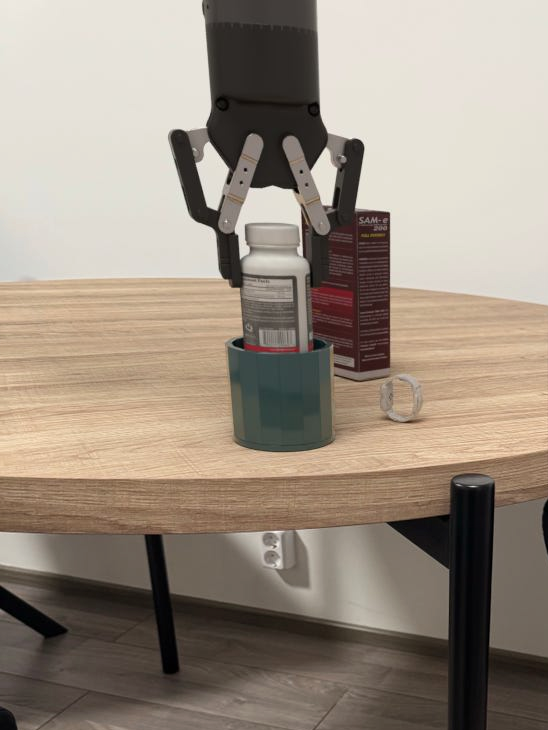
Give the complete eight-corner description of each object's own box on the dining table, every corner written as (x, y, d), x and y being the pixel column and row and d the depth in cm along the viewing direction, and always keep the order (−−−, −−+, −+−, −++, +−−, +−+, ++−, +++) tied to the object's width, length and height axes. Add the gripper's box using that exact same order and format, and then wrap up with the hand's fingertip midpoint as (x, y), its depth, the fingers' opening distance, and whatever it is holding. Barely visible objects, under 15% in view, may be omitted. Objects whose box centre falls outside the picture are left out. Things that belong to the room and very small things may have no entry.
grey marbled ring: (426, 420, 84) (426, 374, 82) (417, 425, 82) (417, 379, 80) (388, 415, 85) (387, 370, 83) (379, 421, 83) (378, 375, 81)
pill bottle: (273, 349, 78) (266, 220, 73) (327, 358, 76) (323, 225, 71) (229, 360, 73) (219, 223, 69) (285, 369, 71) (278, 229, 67)
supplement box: (393, 376, 99) (393, 210, 92) (358, 382, 96) (355, 211, 88) (339, 362, 104) (335, 204, 96) (304, 367, 101) (297, 204, 93)
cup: (240, 454, 73) (233, 355, 69) (226, 426, 79) (219, 334, 76) (345, 448, 75) (343, 352, 72) (322, 421, 82) (319, 332, 78)
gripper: (155, 8, 58) (182, 294, 66) (378, 28, 63) (380, 293, 71) (147, 19, 65) (173, 280, 73) (351, 36, 69) (355, 280, 77)
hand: (275, 285), depth 72 cm, fingers closed on pill bottle, 5 cm apart
